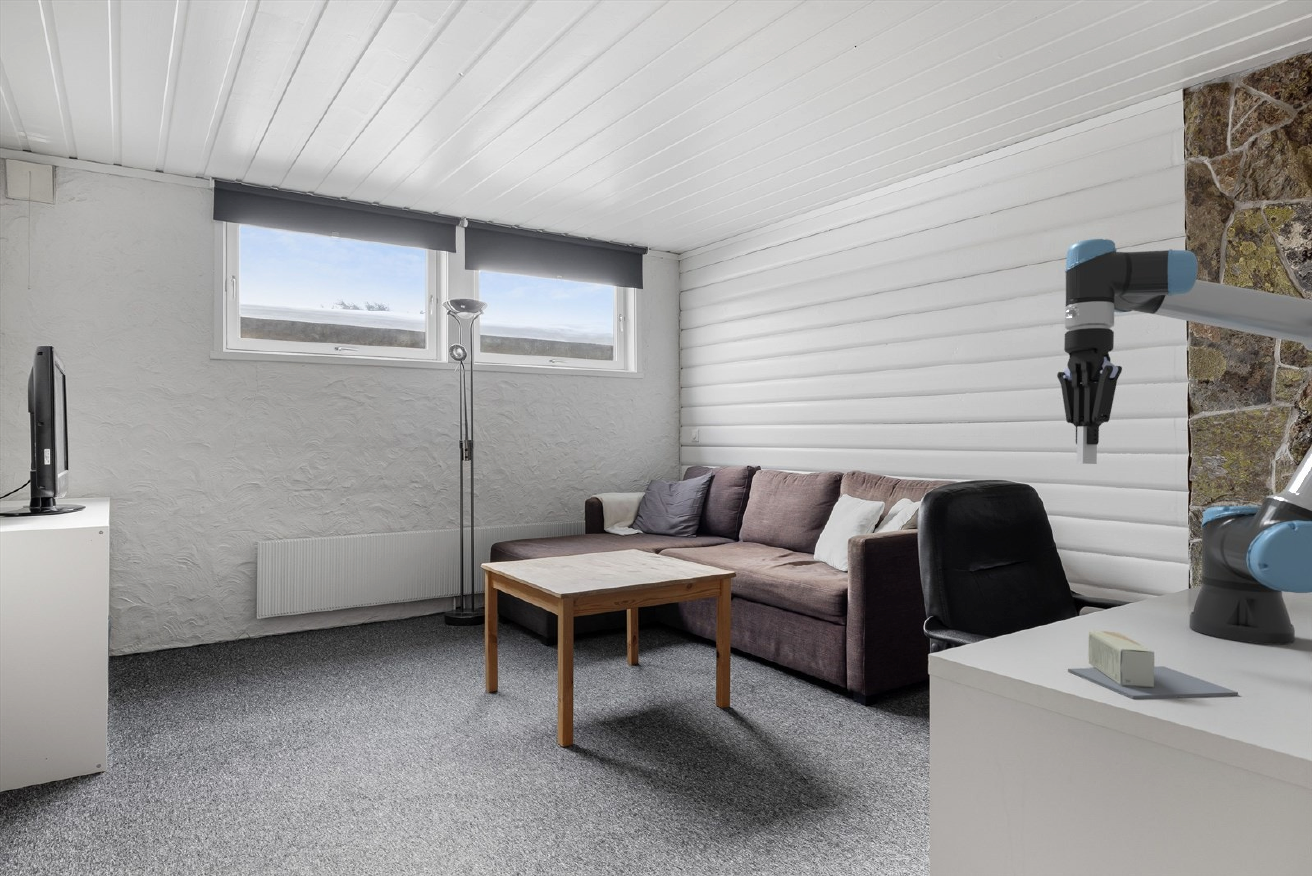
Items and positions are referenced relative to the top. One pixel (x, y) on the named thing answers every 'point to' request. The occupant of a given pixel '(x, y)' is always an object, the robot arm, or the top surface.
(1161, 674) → the mat
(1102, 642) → the box
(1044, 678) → the top surface
